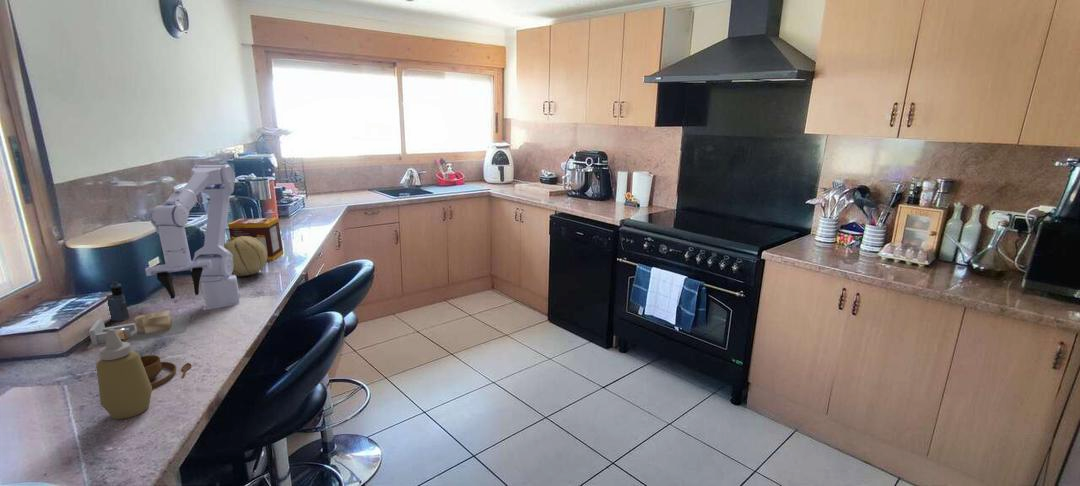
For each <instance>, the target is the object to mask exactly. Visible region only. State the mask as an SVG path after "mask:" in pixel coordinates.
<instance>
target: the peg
mask: <svg viewBox="0 0 1080 486" xmlns="http://www.w3.org/2000/svg"><path fill="white" fill-rule="evenodd" d="M172 319H173V318H172V314H171V310H165V311H159V312H152V313H151V312H150V313H146V314H140V315H137V316H136V317H134V323H135V325H136V328H137V332H138V333H139V334H144V333H150V332H156V331H162V330H168V329H171V326H172V324H173V323H172Z"/></svg>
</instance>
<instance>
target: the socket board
mask: <svg viewBox="0 0 1080 486" xmlns="http://www.w3.org/2000/svg"><path fill="white" fill-rule="evenodd" d="M190 318H191V316H190V315H188V316H182V317H175V318H171V319H172V323H173V324H172V326H171V329H168V330H162V331H156V332H150V333H144V334H139V333H138V332H137V328H136V324H135V322H133V323H127V324H126V323H125V324H120V325H115V326H107V327H106V326H105V321H104V318H98V319H97V320H96V321H95V322H94V324H93V325H91V328H90V329H89V330H88V333H89V336H90V337H89V338H90V340H91V342H90V344H89V345H88V347H87V348H86V350H91V349H95V348H103V347H105V346H106V333H107V330H109V329H115V330H116V329H118V328H125V333H126V340H125V342H128V343H131V342H135V341H141V340H146V339H148V340H149V339H152V338H158V337H163V336H169V335H174V334H175V335H176V334H182V333H185V332H186V330H187V327H188V324H189V321H190Z"/></svg>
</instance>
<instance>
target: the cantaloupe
mask: <svg viewBox="0 0 1080 486" xmlns="http://www.w3.org/2000/svg"><path fill="white" fill-rule="evenodd" d="M229 239H230V240H228V241H226V242H224V248H225V249H227V250H228V251H229V252H231V253H232V255H233V265H234V268H233V272H232V273H231V275H236V276H238V277H246V276H251V275H255V274H257V273H258V272H259V271H261V270H262V269H263V268H264V267H265V265H266V264H267V261H268V260H267V251H266V248H265V246H264V245H263V244H262V243H261V242H260V241H259V240H257V239H256V238H253V237H250V236H240V237H236V238H234V237H231V238H230V237H229Z"/></svg>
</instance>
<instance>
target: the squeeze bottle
mask: <svg viewBox="0 0 1080 486" xmlns="http://www.w3.org/2000/svg"><path fill="white" fill-rule="evenodd" d="M99 356H100V359H99V360H98V361H97V362H96V374H97V384H98V391H99V393H98V394H99V401H100V405H101V406H102V407H103V409H104V410H105V411H106V412H107V413H108V415H110V417H111V418H113V419H115V420H123V419H128V418H132V417H135V416H138V415H140V414H142V413H143V412H145V411H146V410H148V408H149V407H150V404H151V397H152V394H153V393H152V392H153V388H152V386H151V381H149V379H148V376H147V373H146V371H145V368H144V366H143V363H142V361H141V358H140V357H141V356H140V354H139V352H136V351H134V350H132V345H131V342H122V341H121V339H120V338H119V336H118V334H117V333H116V331H115V329H109V330H107V333H106V346H102V347H101V348H100V349H99Z"/></svg>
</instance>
